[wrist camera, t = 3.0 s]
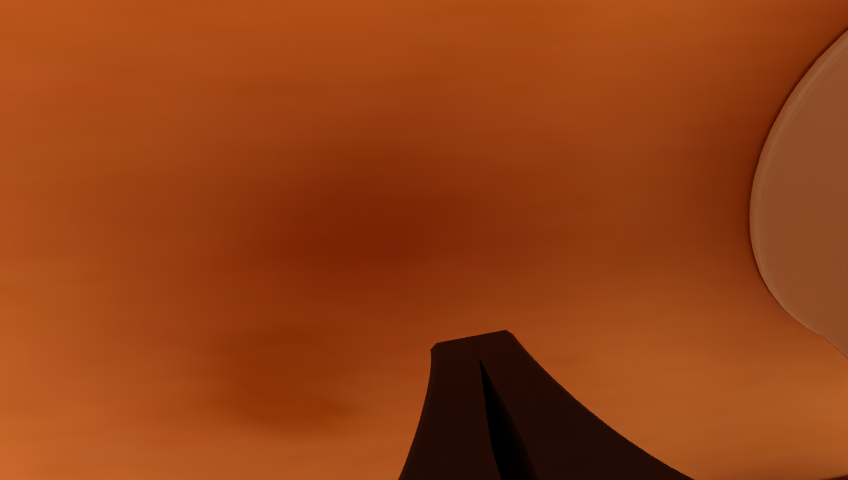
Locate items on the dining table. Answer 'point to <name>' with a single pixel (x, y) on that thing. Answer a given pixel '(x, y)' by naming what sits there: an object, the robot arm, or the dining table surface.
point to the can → (807, 200)
